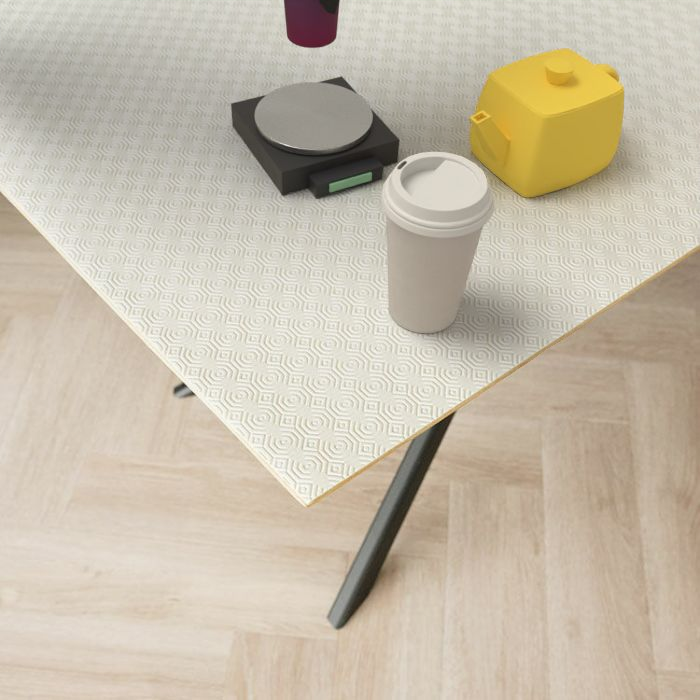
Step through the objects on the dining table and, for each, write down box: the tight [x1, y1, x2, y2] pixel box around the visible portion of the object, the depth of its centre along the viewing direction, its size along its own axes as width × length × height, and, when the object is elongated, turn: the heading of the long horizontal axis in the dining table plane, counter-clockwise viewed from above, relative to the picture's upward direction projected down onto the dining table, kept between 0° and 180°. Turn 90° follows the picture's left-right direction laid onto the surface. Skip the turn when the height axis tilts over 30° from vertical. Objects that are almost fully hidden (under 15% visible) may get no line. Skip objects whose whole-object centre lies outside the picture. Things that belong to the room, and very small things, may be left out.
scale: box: [230, 75, 400, 199], centre depth 101 cm, size 16×14×3 cm
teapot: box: [468, 47, 625, 199], centre depth 98 cm, size 20×12×12 cm, turn 122°
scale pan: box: [254, 81, 373, 155], centre depth 100 cm, size 13×13×1 cm
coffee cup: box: [379, 151, 495, 334], centre depth 80 cm, size 10×10×15 cm
